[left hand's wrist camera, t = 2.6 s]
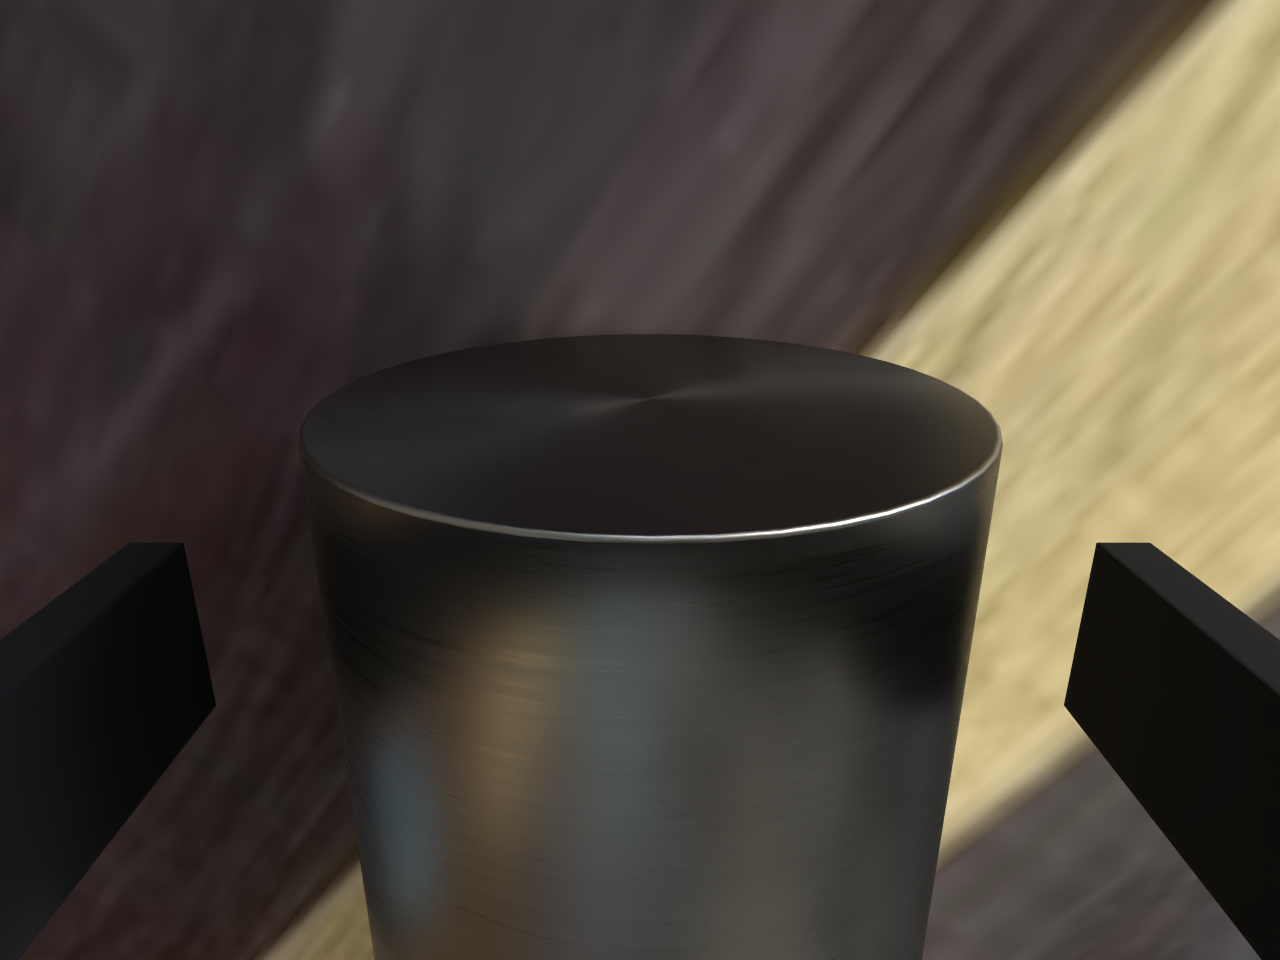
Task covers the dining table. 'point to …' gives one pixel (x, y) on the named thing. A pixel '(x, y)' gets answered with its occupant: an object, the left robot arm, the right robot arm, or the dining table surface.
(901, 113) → the dining table surface
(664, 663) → the rod
